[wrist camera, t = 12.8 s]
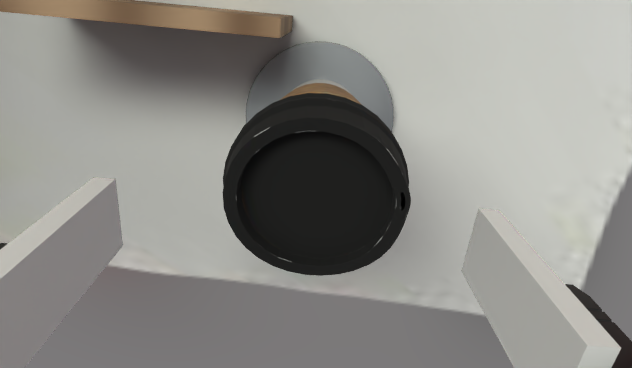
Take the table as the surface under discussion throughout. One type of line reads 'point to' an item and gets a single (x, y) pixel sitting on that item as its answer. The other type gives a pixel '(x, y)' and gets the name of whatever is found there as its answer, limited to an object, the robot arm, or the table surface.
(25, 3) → the wooden c-shaped bracket
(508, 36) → the table surface
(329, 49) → the coaster
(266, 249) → the coffee cup
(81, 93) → the table surface
